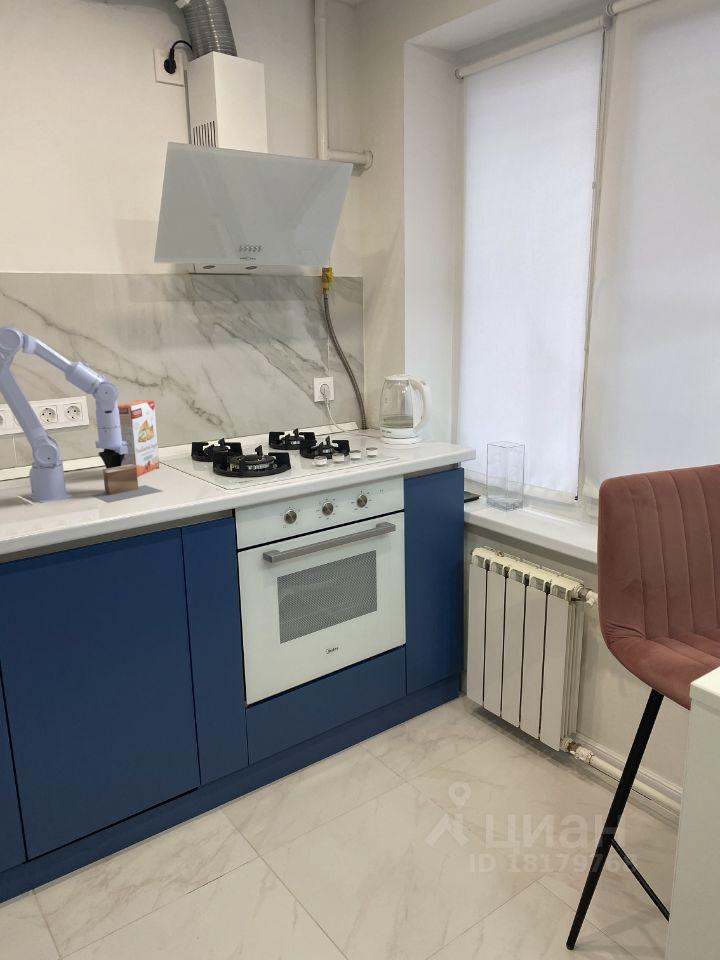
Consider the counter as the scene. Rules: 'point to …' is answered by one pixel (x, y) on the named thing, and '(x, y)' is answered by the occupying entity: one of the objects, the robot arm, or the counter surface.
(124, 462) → the cracker box
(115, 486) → the slab
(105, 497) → the mat
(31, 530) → the counter surface
